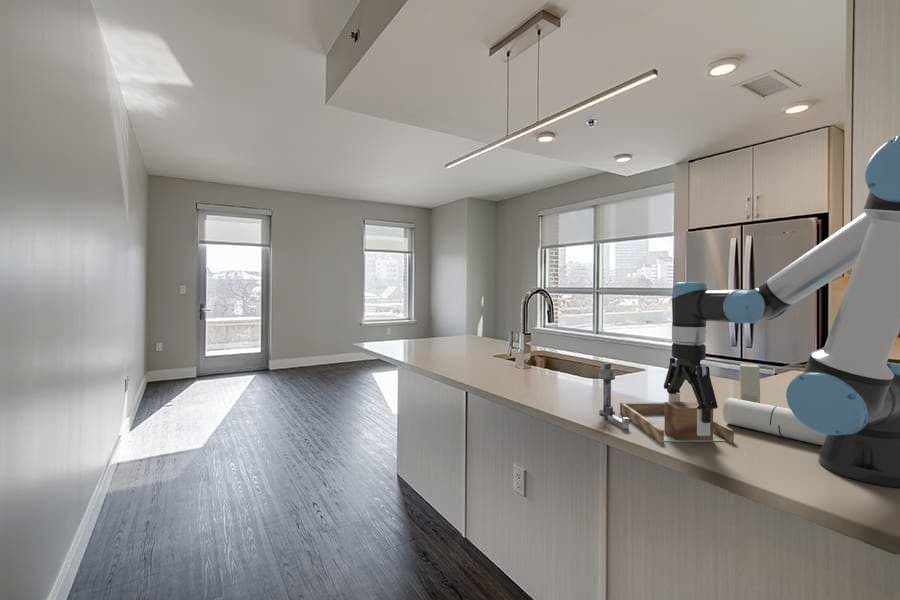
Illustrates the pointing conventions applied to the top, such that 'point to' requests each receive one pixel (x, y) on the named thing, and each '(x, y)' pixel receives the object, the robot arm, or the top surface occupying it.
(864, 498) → the top surface
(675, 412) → the block
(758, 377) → the box
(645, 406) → the bay
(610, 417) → the crank handle
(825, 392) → the robot arm
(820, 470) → the top surface
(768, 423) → the cylindrical container
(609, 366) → the post
